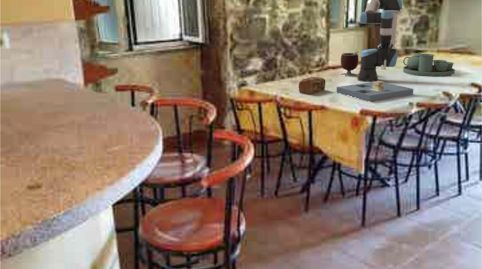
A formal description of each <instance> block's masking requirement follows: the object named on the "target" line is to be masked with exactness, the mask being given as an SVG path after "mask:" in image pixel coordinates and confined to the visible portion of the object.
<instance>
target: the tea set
mask: <svg viewBox="0 0 482 269" xmlns="http://www.w3.org/2000/svg"><path fill="white" fill-rule="evenodd" d="M434 57H435V54H431V53H421V52H418V53H417V52H416V53H413V54H412V56H405V57H404V58H403V60H402V62H403V64H404V66H403V68H402V69H403V70H402V71H403V73H405V74H408V75H414V76H419V77H447V76H453V74H455V71H456V69H455V68H453V66H454V64H455V62H452V61H447V60H444V59H434ZM405 60H407V61H406V62H405Z"/></svg>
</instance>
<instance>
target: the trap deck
mask: <svg viewBox="0 0 482 269" xmlns="http://www.w3.org/2000/svg"><path fill="white" fill-rule="evenodd" d="M373 82H374V81H368V82H363V83H356V84H348V85H339V86H336V92H337V93H336V94H339V93H341V94H340V95H343V94H345V95H344V96H347V95H349V96H348V97H350V96H352V97H351V98H354V97H356V98H355V99H357V98H359V99H358V100H361V99H362V101H365V100H366V101H365V102H368V101H372V102H376V100H378V101H382V100H390V99H394V98H395V99H397V98H402V97H408V96H413V95H414V88H413V87H412V88H411V87H406V86H402V85H397V84H393V83H389V82H384V81H383V82H384V88H383V90H374V89H372V86H373Z"/></svg>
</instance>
